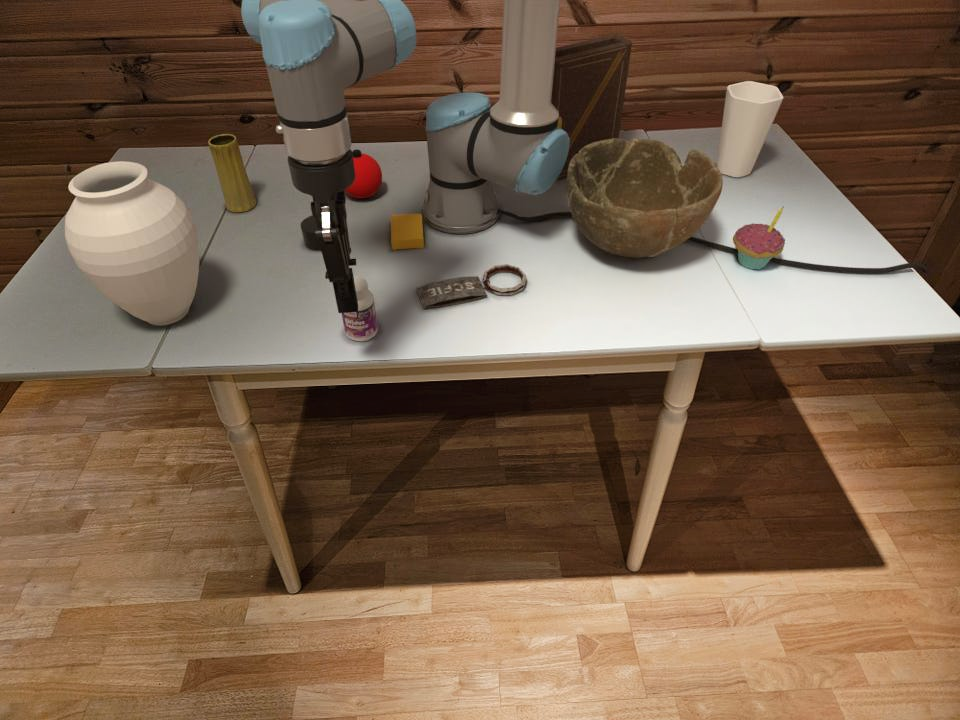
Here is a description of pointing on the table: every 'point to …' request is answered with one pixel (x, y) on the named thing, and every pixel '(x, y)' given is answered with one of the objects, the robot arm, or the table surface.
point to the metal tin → (310, 233)
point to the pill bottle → (361, 314)
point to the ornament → (365, 176)
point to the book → (590, 90)
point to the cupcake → (758, 243)
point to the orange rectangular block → (407, 231)
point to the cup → (746, 125)
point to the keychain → (466, 288)
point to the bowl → (640, 195)
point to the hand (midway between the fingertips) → (348, 309)
